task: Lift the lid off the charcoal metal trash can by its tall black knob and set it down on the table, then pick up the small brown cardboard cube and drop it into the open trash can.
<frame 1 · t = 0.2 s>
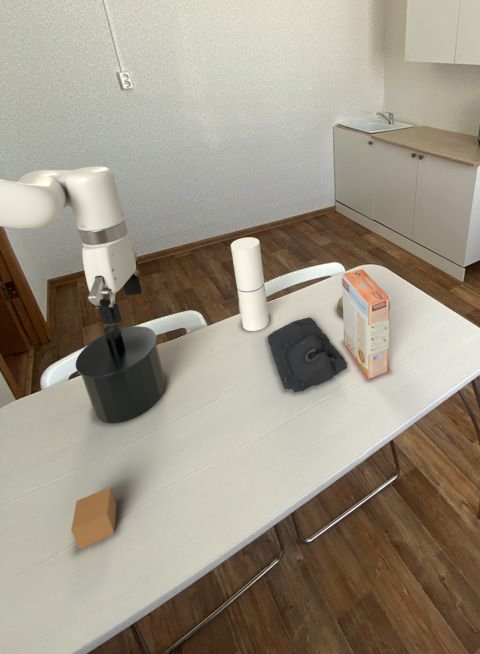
hand: (123, 307, 79), 22 cm above the table, tool pointing down, fingers open, 9 cm apart
black fabric pouch: (304, 354, 96), on the table
cake: (353, 310, 112), on the table
bin lid: (118, 351, 80), point 12 cm above the table, touching trash can
cracker box: (365, 357, 95), on the table
cylindrical container: (256, 323, 108), on the table
trash can: (131, 396, 85), on the table
cube: (99, 526, 61), on the table
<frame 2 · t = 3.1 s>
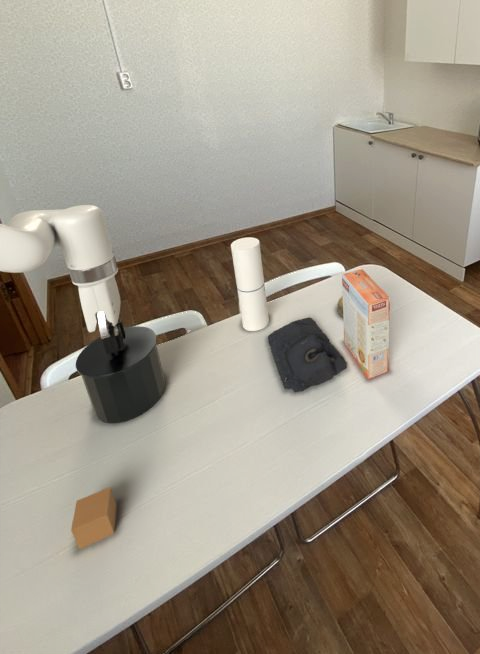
hand: (116, 344, 80), 14 cm above the table, tool pointing down, fingers closed on bin lid, 2 cm apart
bin lid: (118, 351, 80), point 13 cm above the table, touching gripper, trash can
everything else where it was.
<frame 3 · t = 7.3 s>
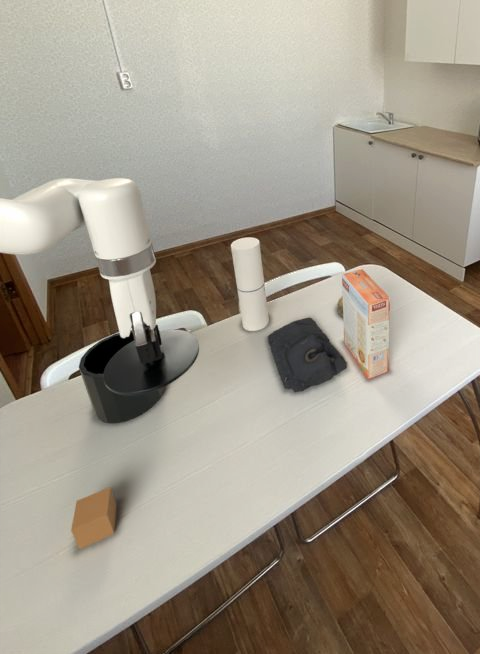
hand: (151, 352, 65), 23 cm above the table, tool pointing down, fingers closed on bin lid, 2 cm apart
bin lid: (153, 360, 66), point 21 cm above the table, touching gripper
everything else where it was.
when the fingers open (2 cm above the table, at t = 11.8 s): bin lid stays where it is, point 1 cm above the table.
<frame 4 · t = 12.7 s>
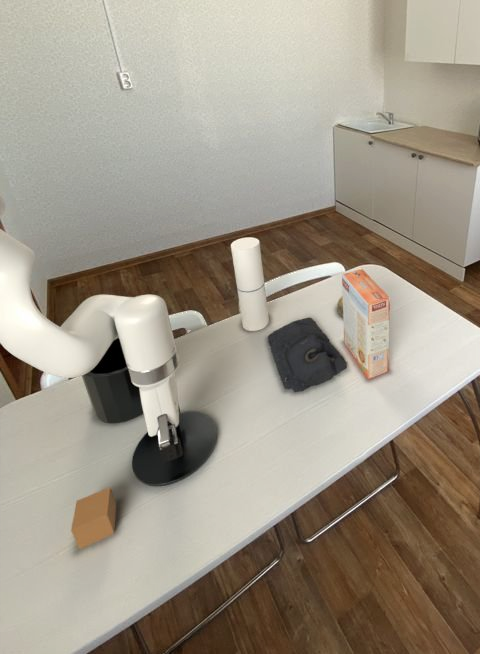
hand: (172, 435, 72), 4 cm above the table, tool pointing down, fingers open, 9 cm apart
bin lid: (176, 446, 73), point 1 cm above the table
everything else where it was.
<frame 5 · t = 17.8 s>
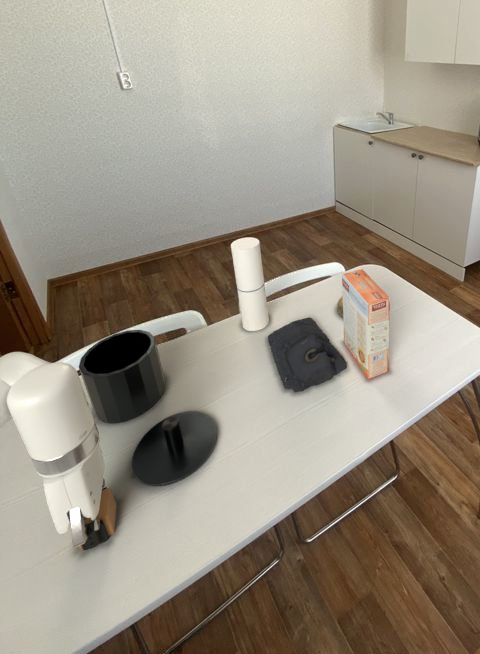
hand: (98, 525, 61), 0 cm above the table, tool pointing down, fingers closed on cube, 4 cm apart
cube: (99, 526, 61), on the table, touching gripper
everything else where it was.
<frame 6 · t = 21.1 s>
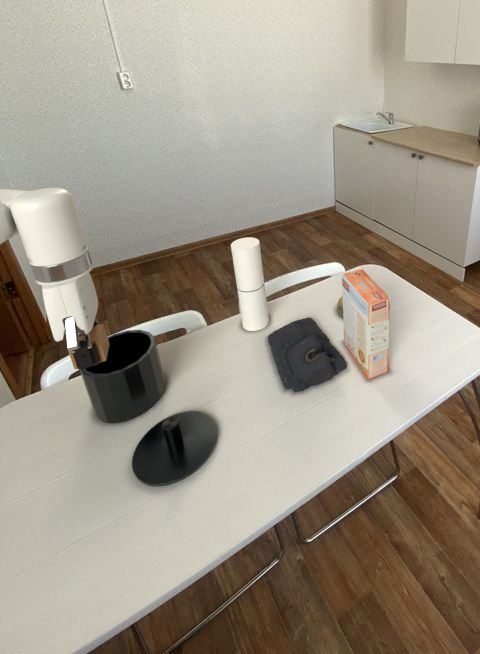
hand: (92, 354, 67), 21 cm above the table, tool pointing down, fingers closed on cube, 4 cm apart
cube: (92, 356, 67), point 21 cm above the table, touching gripper
everything else where it was.
when the fingers open (14 cm above the table, at t = 24.3 s): cube drops 13 cm, resting on trash can.
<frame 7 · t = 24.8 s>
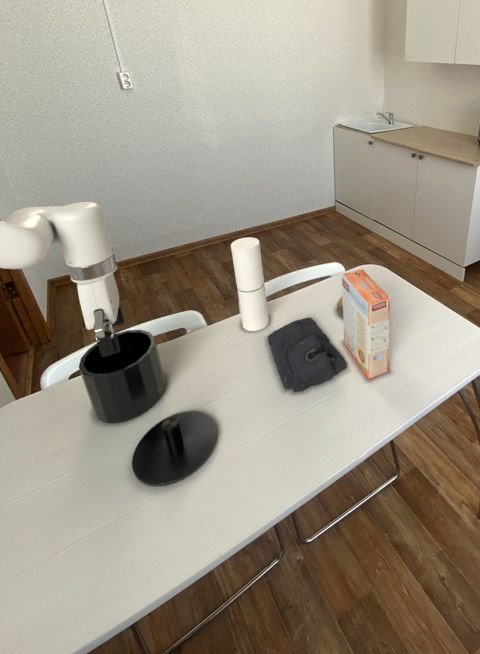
hand: (113, 338, 79), 16 cm above the table, tool pointing down, fingers open, 9 cm apart
cube: (131, 394, 85), point 1 cm above the table, touching trash can
everything else where it was.
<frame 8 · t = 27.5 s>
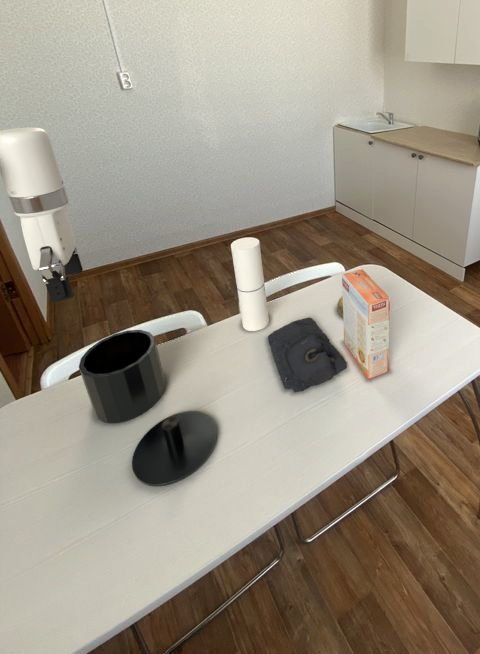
hand: (68, 285, 72), 30 cm above the table, tool pointing down, fingers open, 9 cm apart
nothing on the table moved.
at the end: bin lid inside the target area (0.1 cm from its centre), point 0.6 cm above the table; cube inside the target area in the trash can (0.0 cm from its centre), point 0.5 cm above the trash can's base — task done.
